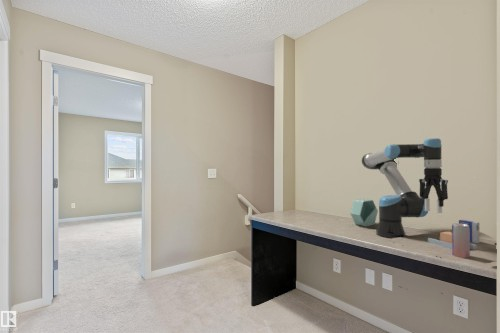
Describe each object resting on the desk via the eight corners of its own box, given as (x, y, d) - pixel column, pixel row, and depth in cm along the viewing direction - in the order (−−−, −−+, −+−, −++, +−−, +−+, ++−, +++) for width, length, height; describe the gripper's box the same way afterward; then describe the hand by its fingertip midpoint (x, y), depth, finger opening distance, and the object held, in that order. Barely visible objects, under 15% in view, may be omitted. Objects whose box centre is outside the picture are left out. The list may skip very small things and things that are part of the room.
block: (440, 244, 127) (440, 232, 127) (448, 243, 129) (448, 231, 129) (453, 248, 121) (453, 235, 121) (461, 246, 123) (461, 234, 123)
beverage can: (449, 256, 114) (448, 223, 114) (463, 256, 114) (462, 223, 114) (458, 261, 108) (458, 226, 108) (473, 261, 108) (473, 226, 108)
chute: (427, 244, 131) (427, 238, 131) (441, 242, 134) (441, 236, 134) (461, 255, 115) (461, 247, 116) (477, 252, 119) (477, 244, 119)
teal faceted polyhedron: (368, 232, 173) (356, 209, 168) (358, 230, 180) (347, 207, 175) (380, 216, 180) (370, 193, 175) (370, 215, 187) (360, 192, 182)
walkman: (459, 241, 135) (458, 219, 135) (461, 241, 136) (461, 219, 136) (477, 246, 128) (476, 222, 128) (480, 245, 129) (479, 221, 129)
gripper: (411, 168, 141) (411, 209, 141) (446, 168, 123) (447, 215, 123) (420, 167, 143) (421, 208, 143) (456, 167, 125) (457, 214, 125)
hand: (433, 211), depth 133 cm, fingers open, 6 cm apart
